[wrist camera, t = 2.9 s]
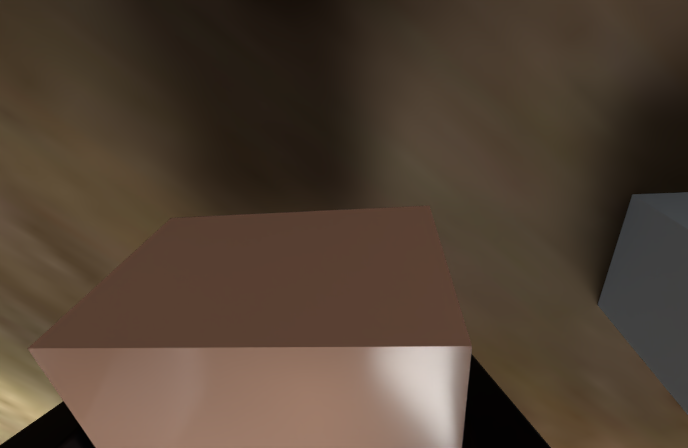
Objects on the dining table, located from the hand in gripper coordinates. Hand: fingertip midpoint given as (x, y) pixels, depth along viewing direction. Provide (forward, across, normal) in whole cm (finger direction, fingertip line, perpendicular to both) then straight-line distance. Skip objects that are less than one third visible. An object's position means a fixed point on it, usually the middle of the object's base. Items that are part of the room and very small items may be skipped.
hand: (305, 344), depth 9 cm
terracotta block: (+1, 0, 0) cm, 1 cm away
